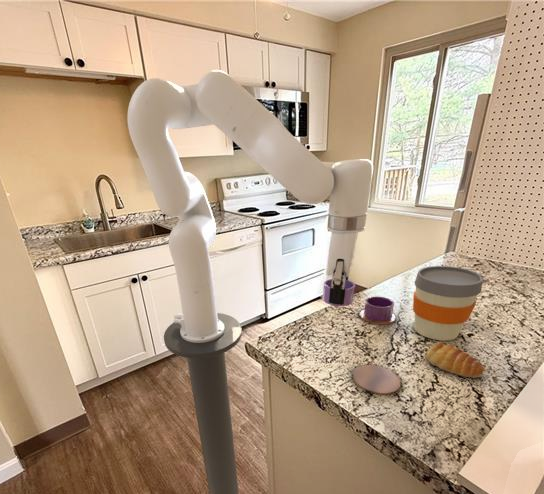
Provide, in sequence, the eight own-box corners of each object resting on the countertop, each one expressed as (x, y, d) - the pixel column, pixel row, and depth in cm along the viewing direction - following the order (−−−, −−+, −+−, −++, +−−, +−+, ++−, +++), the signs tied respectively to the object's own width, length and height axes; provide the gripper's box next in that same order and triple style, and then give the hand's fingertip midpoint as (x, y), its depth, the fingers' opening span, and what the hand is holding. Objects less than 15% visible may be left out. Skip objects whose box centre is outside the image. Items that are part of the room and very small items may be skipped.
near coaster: (351, 388, 63) (351, 386, 63) (354, 363, 70) (354, 361, 69) (401, 399, 59) (401, 397, 59) (399, 371, 66) (399, 369, 66)
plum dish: (363, 319, 85) (365, 305, 83) (364, 308, 90) (366, 295, 88) (391, 322, 82) (394, 308, 80) (391, 311, 87) (393, 297, 85)
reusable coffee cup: (398, 318, 84) (407, 266, 78) (450, 318, 82) (464, 264, 75) (418, 344, 73) (431, 286, 67) (479, 345, 71) (498, 284, 64)
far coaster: (358, 321, 85) (358, 320, 85) (360, 307, 92) (360, 306, 92) (395, 326, 81) (396, 325, 81) (394, 311, 88) (394, 310, 88)
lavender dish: (320, 304, 73) (322, 287, 72) (324, 292, 79) (326, 277, 77) (351, 308, 71) (354, 291, 69) (353, 295, 76) (356, 280, 74)
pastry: (488, 370, 63) (493, 355, 61) (473, 385, 60) (478, 369, 58) (436, 350, 70) (440, 336, 69) (421, 362, 67) (424, 348, 66)
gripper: (332, 214, 75) (326, 281, 83) (322, 231, 61) (315, 310, 69) (366, 214, 72) (357, 284, 80) (363, 233, 58) (352, 315, 66)
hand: (338, 296), depth 74 cm, fingers closed on lavender dish, 6 cm apart
